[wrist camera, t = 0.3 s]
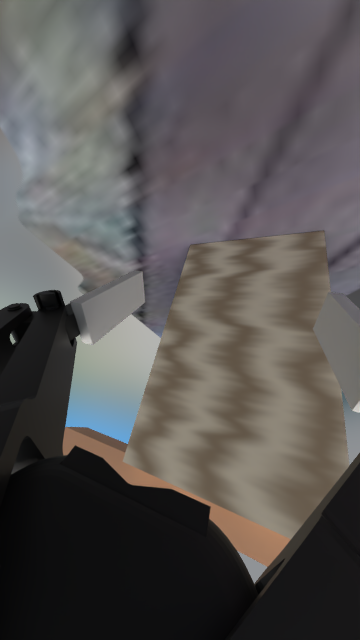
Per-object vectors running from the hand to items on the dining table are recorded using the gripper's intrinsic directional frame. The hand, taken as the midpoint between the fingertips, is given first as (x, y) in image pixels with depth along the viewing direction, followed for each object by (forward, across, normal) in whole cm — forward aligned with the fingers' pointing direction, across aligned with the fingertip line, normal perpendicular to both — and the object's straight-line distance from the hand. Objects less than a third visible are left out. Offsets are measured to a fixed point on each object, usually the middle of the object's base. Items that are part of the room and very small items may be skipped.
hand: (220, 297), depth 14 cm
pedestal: (+21, +2, -2) cm, 21 cm away
